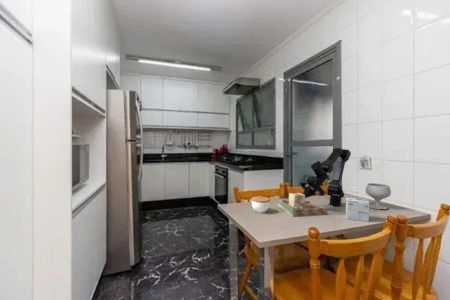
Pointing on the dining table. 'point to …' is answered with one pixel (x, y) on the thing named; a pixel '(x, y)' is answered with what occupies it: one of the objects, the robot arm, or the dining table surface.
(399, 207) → the dining table surface
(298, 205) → the oak block
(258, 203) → the lidded jar
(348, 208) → the light bulb box
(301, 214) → the trap board
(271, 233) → the dining table surface
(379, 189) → the chalice
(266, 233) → the dining table surface
